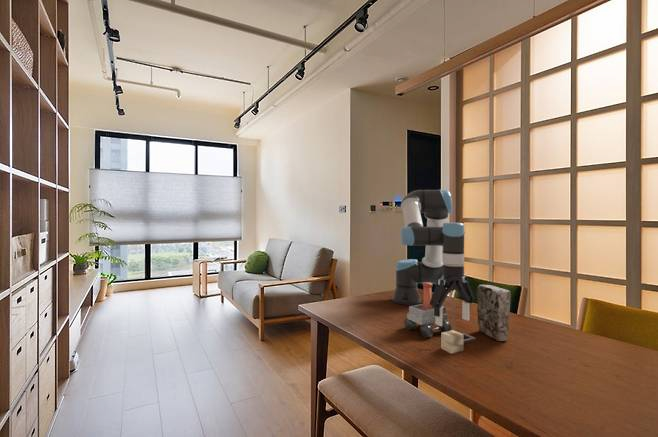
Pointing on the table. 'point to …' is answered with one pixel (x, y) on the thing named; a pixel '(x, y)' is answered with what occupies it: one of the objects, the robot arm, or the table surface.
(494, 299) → the stone block
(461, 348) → the block
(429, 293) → the pin
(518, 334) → the table surface
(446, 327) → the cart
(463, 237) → the robot arm
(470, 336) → the collar
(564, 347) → the table surface
